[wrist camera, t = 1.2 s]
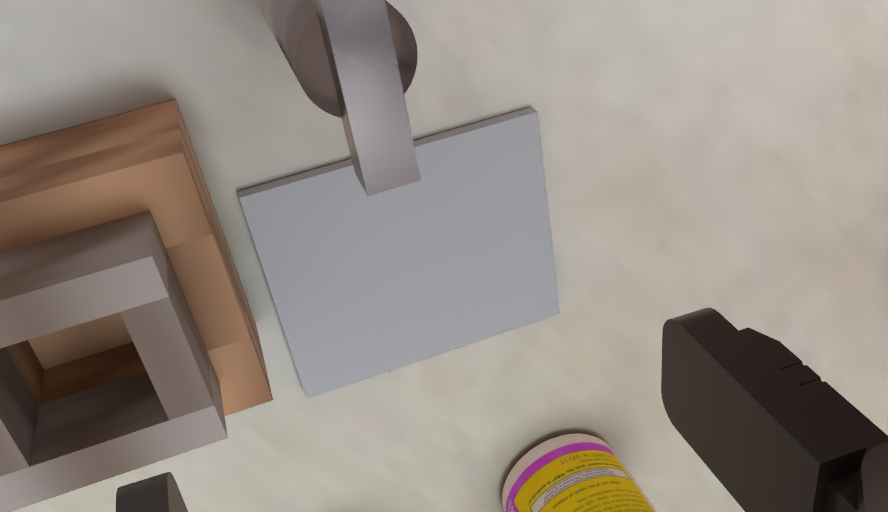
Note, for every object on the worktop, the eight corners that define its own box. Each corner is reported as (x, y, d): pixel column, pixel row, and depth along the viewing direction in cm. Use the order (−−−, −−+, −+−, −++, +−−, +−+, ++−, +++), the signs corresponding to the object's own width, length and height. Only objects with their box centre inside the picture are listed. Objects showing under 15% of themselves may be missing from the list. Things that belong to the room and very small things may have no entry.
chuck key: (313, -126, 27) (407, -77, 18) (354, 51, 31) (451, 171, 21) (222, -106, 27) (270, -44, 18) (273, 73, 30) (336, 205, 21)
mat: (531, 106, 34) (537, 111, 33) (554, 306, 39) (559, 313, 39) (237, 191, 32) (238, 198, 31) (303, 390, 37) (306, 398, 36)
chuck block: (175, 99, 29) (188, 192, 23) (256, 325, 35) (285, 455, 28) (-129, 180, 28) (-211, 307, 21) (5, 405, 33) (-27, 563, 26)
